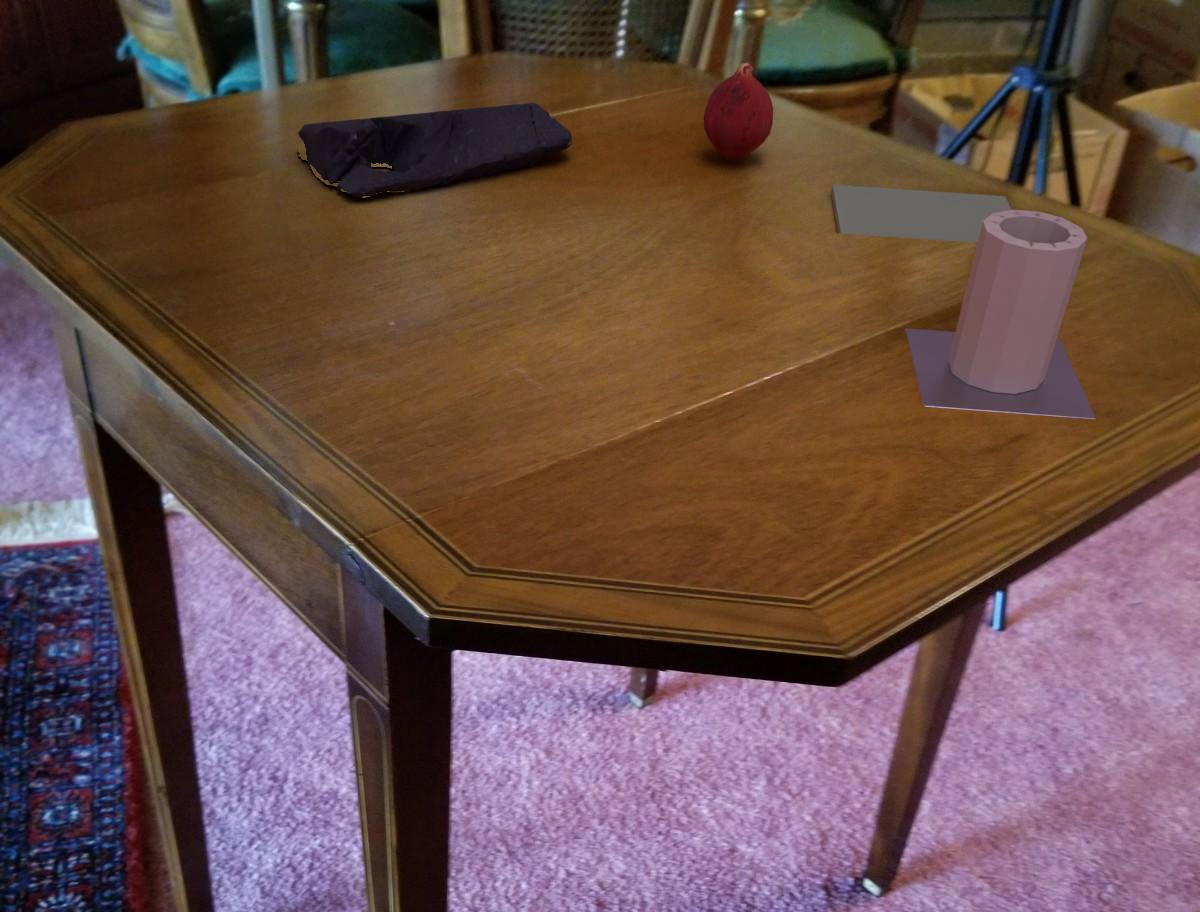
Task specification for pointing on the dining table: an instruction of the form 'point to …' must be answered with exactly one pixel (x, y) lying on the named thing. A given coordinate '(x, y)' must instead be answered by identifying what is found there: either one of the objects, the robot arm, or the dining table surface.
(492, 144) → the black folded cloth
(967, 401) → the roll stand
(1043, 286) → the paper roll
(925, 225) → the mat
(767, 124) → the onion
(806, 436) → the dining table surface
